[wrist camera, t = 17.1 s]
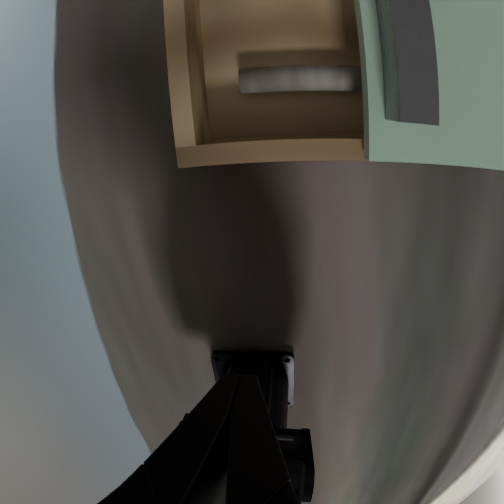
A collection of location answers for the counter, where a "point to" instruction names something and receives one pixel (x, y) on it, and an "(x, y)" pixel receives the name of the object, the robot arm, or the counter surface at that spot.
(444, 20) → the lid
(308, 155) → the open wooden tray
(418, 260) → the counter surface
